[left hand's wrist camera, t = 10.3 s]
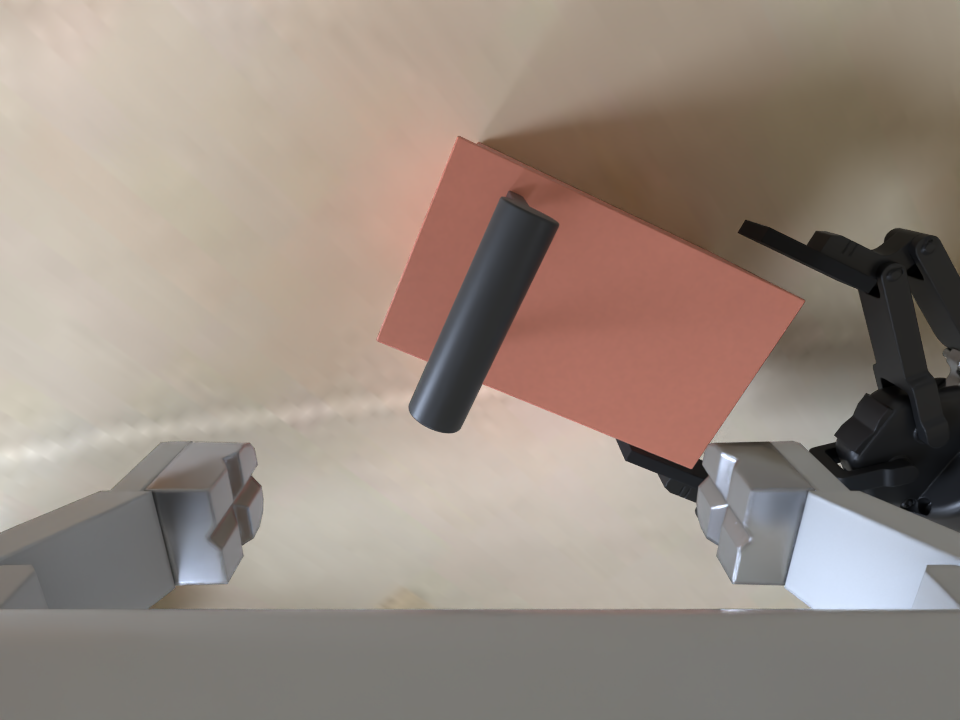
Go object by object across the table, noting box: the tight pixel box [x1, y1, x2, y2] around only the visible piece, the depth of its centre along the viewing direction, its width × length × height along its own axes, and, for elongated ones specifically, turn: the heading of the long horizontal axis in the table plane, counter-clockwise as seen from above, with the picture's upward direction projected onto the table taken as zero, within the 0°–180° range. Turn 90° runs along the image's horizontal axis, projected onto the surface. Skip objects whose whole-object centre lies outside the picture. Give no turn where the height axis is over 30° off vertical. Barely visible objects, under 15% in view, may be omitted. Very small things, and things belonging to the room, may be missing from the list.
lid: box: [377, 136, 805, 469], centre depth 23 cm, size 17×10×9 cm, turn 66°
